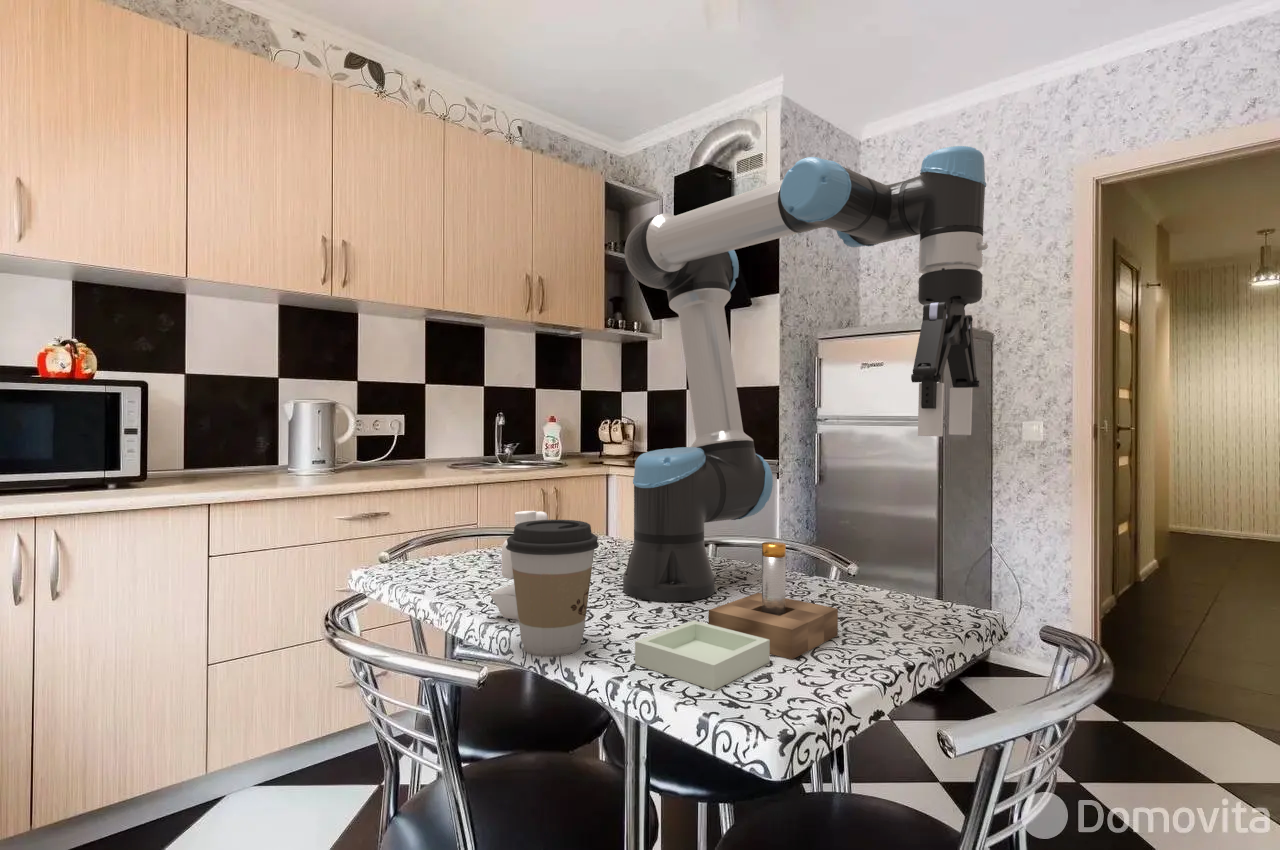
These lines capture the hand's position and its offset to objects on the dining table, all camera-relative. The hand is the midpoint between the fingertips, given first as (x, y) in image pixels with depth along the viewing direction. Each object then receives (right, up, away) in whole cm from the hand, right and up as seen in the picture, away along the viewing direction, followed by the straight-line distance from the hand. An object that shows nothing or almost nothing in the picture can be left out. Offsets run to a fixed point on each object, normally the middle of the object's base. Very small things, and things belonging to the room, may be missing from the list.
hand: (945, 435), depth 86 cm
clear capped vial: (-23, -26, -1) cm, 35 cm away
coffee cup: (-51, -26, -5) cm, 57 cm away
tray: (-33, -26, -11) cm, 43 cm away
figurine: (-56, -26, +8) cm, 63 cm away
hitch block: (-23, -26, -1) cm, 35 cm away
